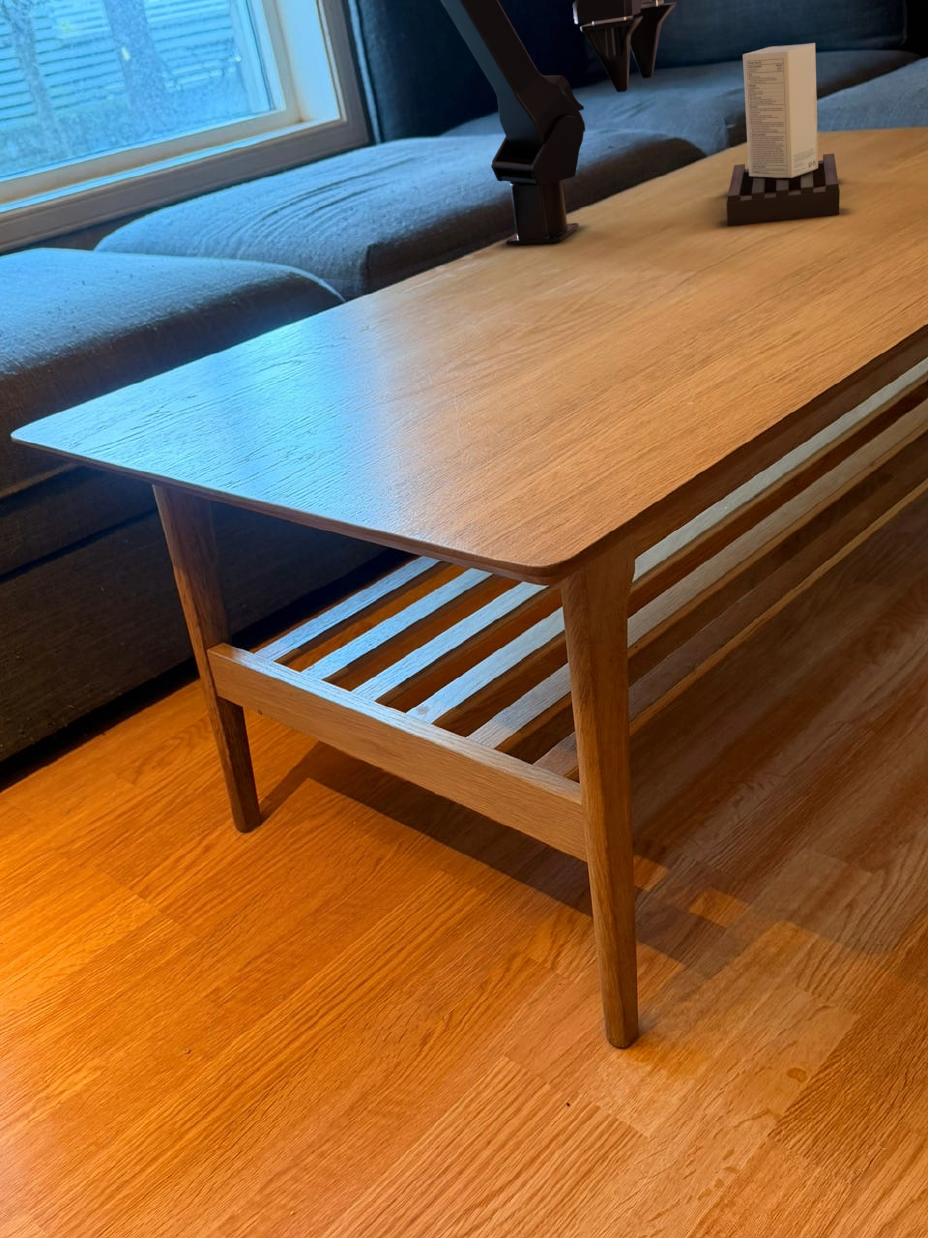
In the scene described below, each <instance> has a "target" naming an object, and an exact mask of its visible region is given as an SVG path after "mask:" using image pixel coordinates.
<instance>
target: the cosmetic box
mask: <svg viewBox="0 0 928 1238" xmlns="http://www.w3.org/2000/svg"><path fill="white" fill-rule="evenodd" d="M816 55H817V54H816V42H812V43H811V42H810V43H801V44H799V43H798V44H788V45H787V44H786V45H776V46H775V45H774V46H768V47H767V46H766V47H764V48H760V49H757V50H754V51H751V52H750V51H749V52H747V53H743V54H742V65H743V66H742V67H743V86H744V104H745V105H744V107H745V123H746V124H745V125H746V142H747V160H748V164H747V165H748V169H749V176H755V177H775V178H793V177H796V176H800V175H803V174H805V173H808V172H811V171H813V170H815V169H817V168H818V161H819V144H818V143H819V142H818V141H819V140H818V102H817V101H818V100H817V99H818V98H817V97H818V96H817V63H816V62H817V60H816V59H817V58H816V57H817V56H816Z"/></svg>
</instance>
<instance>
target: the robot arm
mask: <svg viewBox="0 0 928 1238" xmlns="http://www.w3.org/2000/svg"><path fill="white" fill-rule="evenodd" d="M440 2H441V4H442V5H443V7H444V9H445V10H446V11H447V12H446V13H448V15H449V17H450V19H451V21H452V22H453V23H454V25H455V27H456V28H457V30H458V32H459V34H460V35H461V37H462V39H463V40H464V41H465V43H466V45H467V47H468V49H469V51H470V52H471V54H472V55H473V57H474V59H475V60H476V62H477V64H478V65H479V67H480V69H481V70H482V72H483V74H484V76H485V77H486V79H487V80H488V82H489V83H490V85H491V87H492V89H493V90H494V93H495V94H496V97H497V107H498V118H499V122H500V126H501V128H502V131H503V132H504V136H505V137H504V139H503V141H502V143H501V144H500V145H499V148H498V150H497V152H496V153H495V155H494V156H493V158H492V160H491V162H490V167H491V169H492V172H493V174H494V176H495V179H496V180H497V182H509V187H510V195H511V202H512V203H511V204H512V210H513V219H514V225H515V233H514V234H512V235H511V236H509V237H508V238H507V239H505V245H506V246H513V245H530V244H532V245H533V244H549V243H559V242H561V241H563V240H564V239H566V238H567V237H568V236H570V235H571V234H572V233H573V232H575V231H576V230H577V229H579V226H580V225H579V223H578V222H572V223H569V222H568V219H567V218H568V217H567V208H566V201H565V191H564V180H569V179H571V178H574V177H576V173H577V167H578V161H579V156H580V149H581V147H582V144H583V142H584V134H585V132H586V123H585V120H584V118H583V115H582V113H581V112H580V111H583V110H584V109H585V106H584V105H582V104H581V103H580V102H579V101H578V99H577V98H576V97H575V94H574V93H573V90H572V86H571V85H570V82H569V80H568V79H567V78H566V76H565V75H543V74H542V73H541V72H540V71H539V70H538V68H537V67H536V65H535V64H534V61H533V60H532V58H531V56H530V55H529V53H528V51H527V49H526V48H525V46H524V44H523V43H522V40H521V39H520V37H519V35H518V34H517V32H516V30H515V28H514V27H513V25H512V23H511V21H510V19H509V17H508V16H507V14H506V12H505V10H504V9H503V6H502V5H501V3H500V2H499V0H440ZM676 6H677V2H676V1H675V2H668V3H665V0H574V2H573V3H572V8H573V19H574V20H573V21H574V25H580V24H584V25H581V26H580V27H579V28H580V31H581V33H584V35H585V36H586V39H587V40H588V42H589V43H590V45H591V46H592V48H593V50H594V52H595V53H596V55H597V57H598V59H599V61H600V63H601V64H602V67H603V69H604V71H605V72H606V74H607V75H608V77H609V80H610V81H611V83H612V86H613V87H614V89H615V91H616V92H617V93H625V92H627V91H628V89H629V80H630V79H629V77H630V58H631V53H632V55H633V58H634V61H635V63H636V66H637V68H638V71H639V74H640V77H641V78H642V79H644V80H645V79H651V78H652V77H653V76H654V71H655V62H656V57H657V51H658V45H659V39H660V34H661V29H662V25H663V22H664V20H665V19H666V18H667V16H668V15H669V13H670V12H671V11H672V10H673V9H674V8H675V7H676Z"/></svg>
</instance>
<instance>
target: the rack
mask: <svg viewBox="0 0 928 1238" xmlns="http://www.w3.org/2000/svg"><path fill="white" fill-rule="evenodd" d="M838 177H839V176H838V171H837V165H836V157H835V153H832V152H831V153H825V154H822V160H818V168H817V169H815V170H813V171H811V172H808V173H805V174H803V175H800V176H796V177H793V178H775V177H755V176H749V168H746V163H741V164H734V166H733V169H732V174H731V179H730V183H729V188H728V192H727V195H726V197H727V198H726V225H727V227H732V226H742V225H751V224H761V223H770V222H779V221H790V220H791V221H792V220H801V219H808V218H810V219H811V218H818V217H828V216H837V215H838V216H839V215H840V197H841V196H840V194H841V193H840V189H841V188H840V186H839V185H840V184H839V178H838ZM823 186H825V187H823ZM814 187H820V188H814ZM795 189H796V191H795ZM797 189H800V190H797ZM789 190H794V191H789ZM768 192H769V193H768ZM770 192H775V193H770ZM767 193H768V194H767ZM742 195H750V196H742Z"/></svg>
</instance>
